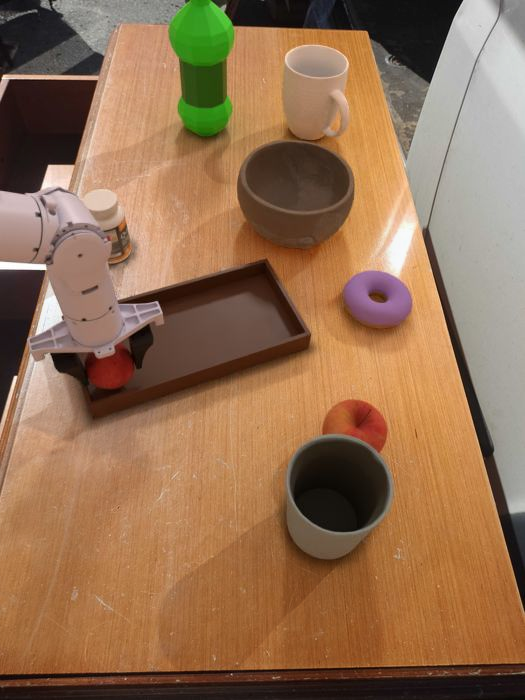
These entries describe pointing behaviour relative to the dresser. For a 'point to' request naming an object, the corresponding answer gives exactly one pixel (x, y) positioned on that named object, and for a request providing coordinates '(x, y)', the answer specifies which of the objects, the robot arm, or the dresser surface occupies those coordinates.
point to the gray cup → (336, 494)
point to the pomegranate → (110, 368)
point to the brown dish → (207, 334)
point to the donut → (374, 312)
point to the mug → (315, 91)
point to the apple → (357, 422)
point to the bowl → (295, 192)
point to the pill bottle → (110, 222)
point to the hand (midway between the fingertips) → (111, 370)
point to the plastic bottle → (203, 65)
